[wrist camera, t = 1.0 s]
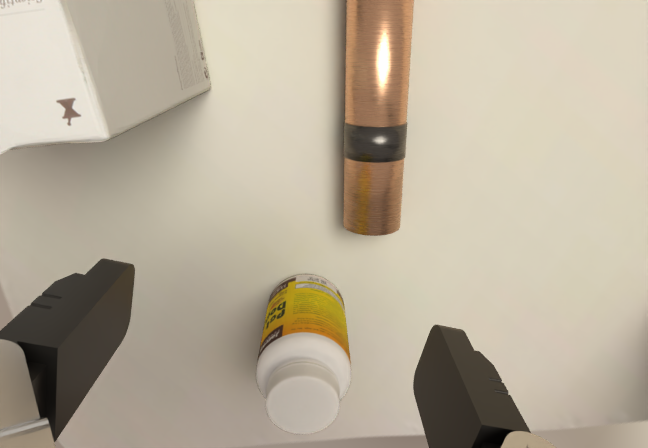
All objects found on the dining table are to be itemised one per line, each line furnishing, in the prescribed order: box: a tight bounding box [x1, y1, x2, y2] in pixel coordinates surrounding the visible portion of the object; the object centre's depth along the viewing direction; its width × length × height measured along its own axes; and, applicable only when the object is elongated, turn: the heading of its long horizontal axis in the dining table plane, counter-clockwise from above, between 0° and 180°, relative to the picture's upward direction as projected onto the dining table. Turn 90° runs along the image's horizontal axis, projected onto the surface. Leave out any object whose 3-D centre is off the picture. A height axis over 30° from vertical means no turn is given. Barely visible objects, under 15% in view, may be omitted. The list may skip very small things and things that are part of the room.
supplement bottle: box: [256, 274, 352, 435], centre depth 29 cm, size 6×6×10 cm
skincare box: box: [0, 0, 211, 155], centre depth 20 cm, size 8×6×15 cm
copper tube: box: [344, 0, 414, 235], centre depth 26 cm, size 17×4×4 cm, turn 0°
